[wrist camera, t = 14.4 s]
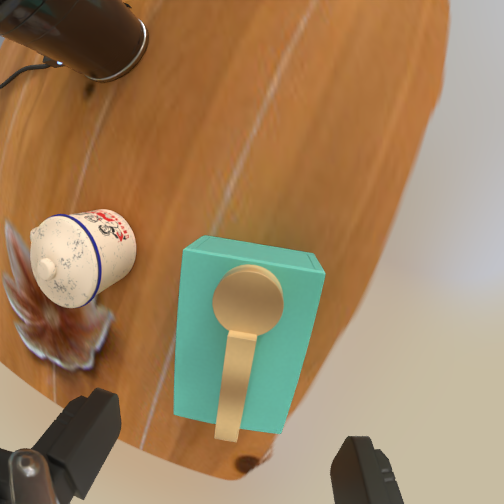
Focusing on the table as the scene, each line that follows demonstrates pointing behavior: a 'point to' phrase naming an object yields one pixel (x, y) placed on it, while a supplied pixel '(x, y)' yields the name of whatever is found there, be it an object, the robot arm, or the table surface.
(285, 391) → the lunchbox lid
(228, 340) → the spoon
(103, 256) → the teacup with lid
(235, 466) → the table surface
